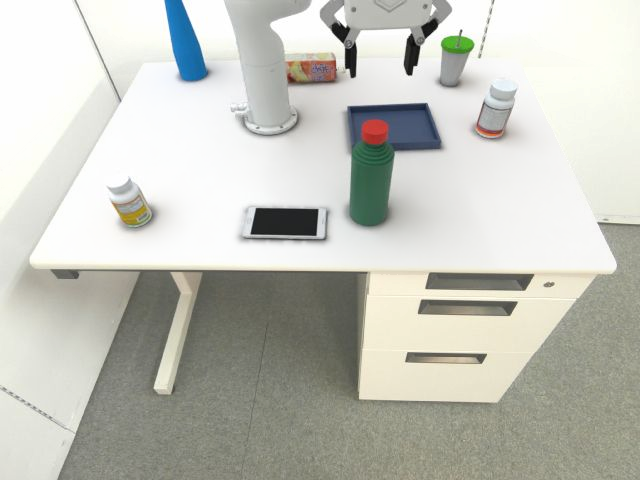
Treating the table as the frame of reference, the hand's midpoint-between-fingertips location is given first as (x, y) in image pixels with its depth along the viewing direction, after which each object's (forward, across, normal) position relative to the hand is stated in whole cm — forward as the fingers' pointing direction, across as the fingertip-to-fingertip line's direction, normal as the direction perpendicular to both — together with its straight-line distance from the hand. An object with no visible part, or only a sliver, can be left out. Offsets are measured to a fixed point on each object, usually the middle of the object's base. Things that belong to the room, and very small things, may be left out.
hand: (380, 71), depth 55 cm
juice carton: (+28, -14, +51) cm, 60 cm away
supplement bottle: (+28, -44, +1) cm, 52 cm away
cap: (+9, 0, 0) cm, 9 cm away
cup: (+28, +26, +46) cm, 60 cm away
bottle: (+28, -43, +56) cm, 76 cm away
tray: (+28, +8, +26) cm, 39 cm away
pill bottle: (+28, +30, +24) cm, 48 cm away
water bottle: (+28, 0, 0) cm, 28 cm away
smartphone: (+28, -16, -2) cm, 32 cm away
